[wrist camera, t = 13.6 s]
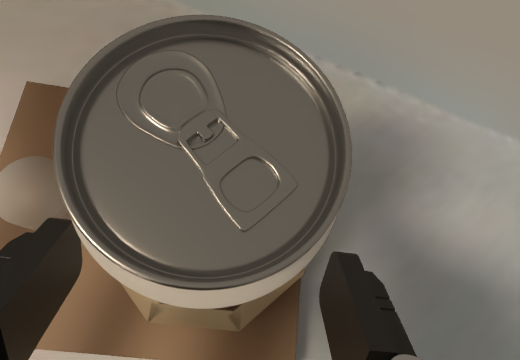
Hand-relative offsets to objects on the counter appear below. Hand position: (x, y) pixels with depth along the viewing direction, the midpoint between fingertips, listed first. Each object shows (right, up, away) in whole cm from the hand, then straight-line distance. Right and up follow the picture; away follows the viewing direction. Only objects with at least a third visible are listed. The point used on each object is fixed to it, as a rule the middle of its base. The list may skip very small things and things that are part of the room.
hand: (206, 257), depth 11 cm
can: (-1, 0, +7) cm, 7 cm away
